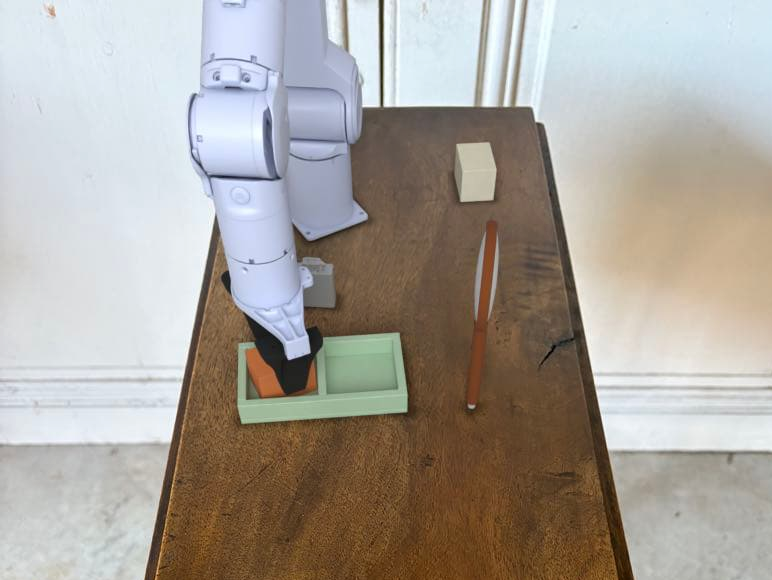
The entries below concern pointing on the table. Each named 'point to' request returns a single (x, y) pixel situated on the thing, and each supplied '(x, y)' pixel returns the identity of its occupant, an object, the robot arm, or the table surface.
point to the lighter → (319, 283)
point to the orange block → (272, 377)
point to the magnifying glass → (482, 307)
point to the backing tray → (335, 382)
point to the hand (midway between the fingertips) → (280, 362)
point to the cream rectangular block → (475, 172)
